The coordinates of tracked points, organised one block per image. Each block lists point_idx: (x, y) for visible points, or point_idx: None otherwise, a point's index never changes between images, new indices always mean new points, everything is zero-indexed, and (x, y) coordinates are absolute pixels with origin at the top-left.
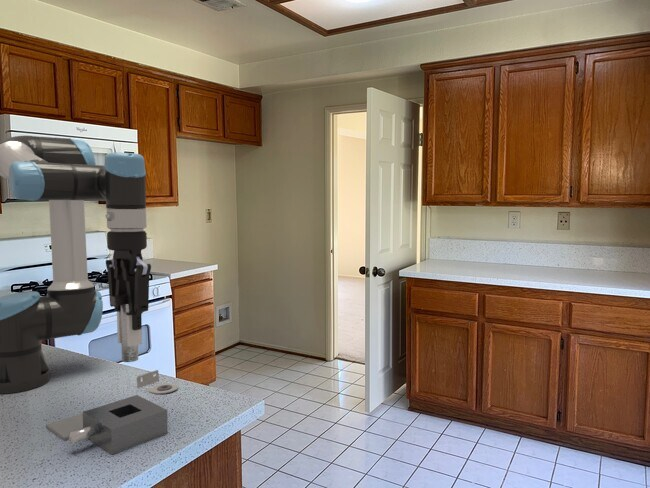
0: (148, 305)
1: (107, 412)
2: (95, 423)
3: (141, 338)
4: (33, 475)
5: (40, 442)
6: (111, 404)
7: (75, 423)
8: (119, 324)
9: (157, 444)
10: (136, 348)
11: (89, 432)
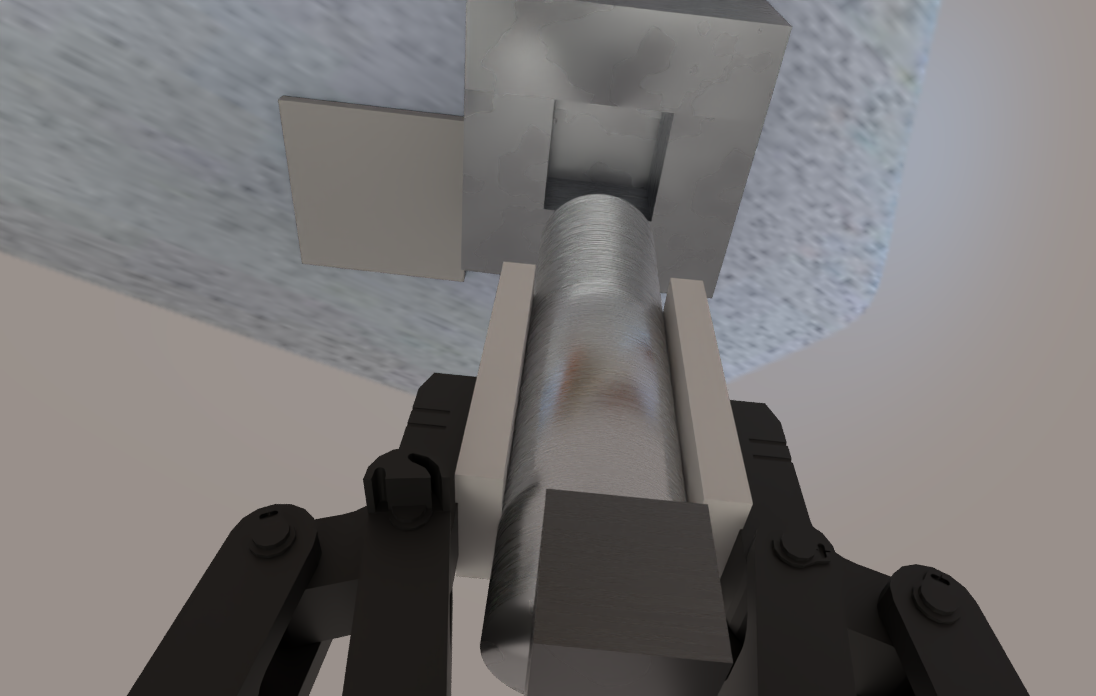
0: (1001, 648)
1: None
2: None
3: (709, 310)
4: None
5: (416, 319)
6: (482, 155)
7: (371, 200)
8: None
9: (797, 102)
10: (658, 280)
11: None
